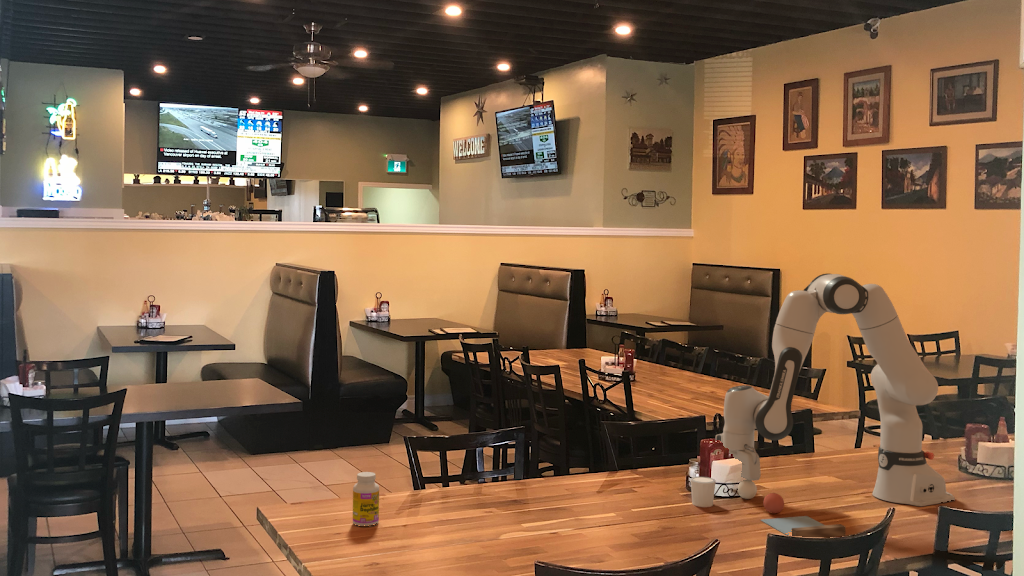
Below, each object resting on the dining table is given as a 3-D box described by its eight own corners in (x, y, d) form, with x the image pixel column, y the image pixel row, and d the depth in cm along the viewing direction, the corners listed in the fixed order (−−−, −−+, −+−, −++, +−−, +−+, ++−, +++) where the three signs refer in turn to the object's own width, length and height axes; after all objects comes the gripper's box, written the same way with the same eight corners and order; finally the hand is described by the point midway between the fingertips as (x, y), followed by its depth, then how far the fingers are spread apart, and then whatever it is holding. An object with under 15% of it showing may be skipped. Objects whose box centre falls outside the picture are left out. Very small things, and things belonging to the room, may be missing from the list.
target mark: (806, 516, 244) (806, 515, 244) (838, 533, 230) (838, 532, 230) (760, 520, 240) (760, 519, 240) (790, 537, 226) (790, 536, 226)
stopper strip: (840, 533, 230) (840, 524, 230) (845, 536, 228) (845, 526, 228) (791, 538, 226) (791, 528, 226) (795, 540, 224) (796, 530, 224)
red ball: (776, 509, 250) (777, 490, 250) (787, 515, 245) (788, 495, 244) (759, 510, 248) (759, 491, 248) (770, 516, 243) (770, 496, 243)
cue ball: (750, 495, 263) (750, 477, 263) (760, 500, 258) (760, 481, 258) (733, 496, 262) (734, 478, 262) (743, 501, 257) (743, 483, 256)
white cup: (715, 508, 250) (715, 483, 250) (689, 506, 251) (690, 481, 251) (714, 501, 257) (715, 477, 256) (690, 499, 258) (690, 475, 258)
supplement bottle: (357, 529, 229) (357, 478, 228) (349, 521, 235) (349, 472, 234) (382, 525, 232) (382, 475, 231) (374, 518, 238) (374, 469, 237)
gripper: (766, 448, 256) (765, 497, 257) (731, 433, 276) (730, 478, 276) (746, 449, 254) (745, 498, 255) (712, 434, 274) (711, 479, 275)
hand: (737, 488), depth 266 cm, fingers closed
